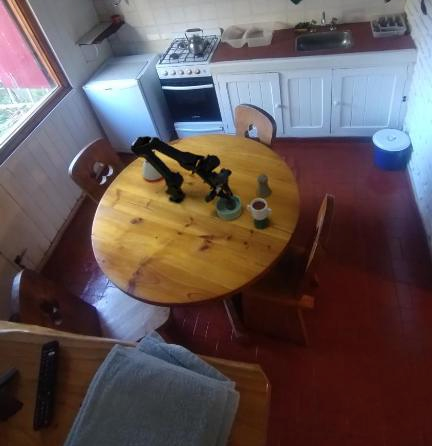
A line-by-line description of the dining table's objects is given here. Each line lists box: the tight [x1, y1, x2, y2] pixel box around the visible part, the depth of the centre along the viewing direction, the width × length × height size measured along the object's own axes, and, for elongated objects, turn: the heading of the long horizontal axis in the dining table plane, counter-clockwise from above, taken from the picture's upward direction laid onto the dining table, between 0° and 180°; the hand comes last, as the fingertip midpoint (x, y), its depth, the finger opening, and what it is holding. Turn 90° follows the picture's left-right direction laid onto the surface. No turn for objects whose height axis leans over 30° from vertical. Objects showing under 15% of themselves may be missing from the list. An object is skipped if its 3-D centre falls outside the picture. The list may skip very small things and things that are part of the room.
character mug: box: [246, 197, 273, 230], centre depth 151 cm, size 11×7×13 cm, turn 69°
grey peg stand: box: [225, 190, 236, 210], centre depth 162 cm, size 5×5×10 cm
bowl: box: [214, 194, 243, 221], centre depth 163 cm, size 12×12×4 cm
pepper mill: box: [256, 173, 271, 198], centre depth 166 cm, size 6×6×11 cm
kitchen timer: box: [141, 150, 167, 183], centre depth 189 cm, size 14×14×15 cm
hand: (231, 197), depth 160 cm, fingers closed on grey peg stand, 2 cm apart
